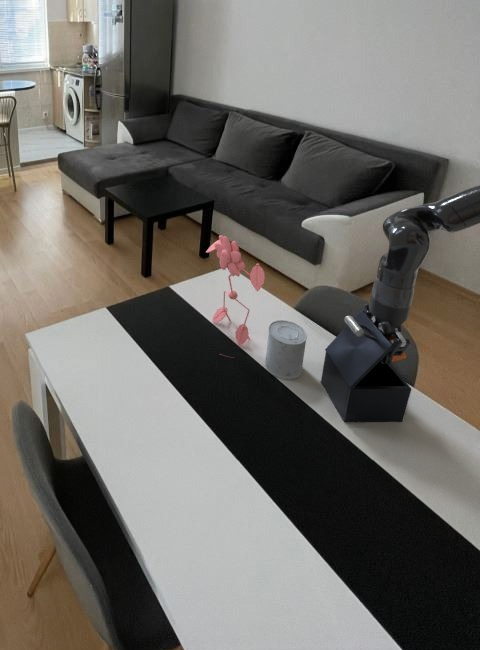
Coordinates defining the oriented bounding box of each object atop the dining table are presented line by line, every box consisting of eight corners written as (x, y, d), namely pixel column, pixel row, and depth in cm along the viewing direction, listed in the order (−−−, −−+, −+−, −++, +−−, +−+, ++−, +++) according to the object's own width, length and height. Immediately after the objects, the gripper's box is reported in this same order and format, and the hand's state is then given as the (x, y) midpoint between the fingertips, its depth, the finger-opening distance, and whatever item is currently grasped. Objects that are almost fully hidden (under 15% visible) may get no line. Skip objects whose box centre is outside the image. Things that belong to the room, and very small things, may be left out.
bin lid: (363, 311, 106) (343, 301, 106) (394, 346, 95) (372, 336, 94) (327, 350, 112) (307, 341, 111) (352, 388, 100) (330, 379, 99)
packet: (377, 348, 106) (394, 343, 105) (389, 363, 102) (407, 357, 101) (371, 328, 104) (388, 322, 103) (382, 341, 99) (400, 336, 99)
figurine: (217, 305, 148) (221, 215, 136) (270, 356, 125) (282, 253, 113) (178, 317, 144) (179, 225, 131) (227, 372, 121) (233, 267, 108)
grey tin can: (261, 370, 121) (264, 336, 116) (269, 349, 128) (272, 316, 123) (298, 384, 115) (303, 349, 111) (304, 361, 123) (309, 327, 118)
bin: (372, 381, 115) (380, 350, 111) (402, 422, 103) (411, 388, 99) (320, 382, 116) (325, 351, 112) (344, 422, 104) (350, 389, 100)
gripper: (431, 316, 91) (414, 377, 97) (389, 278, 104) (376, 333, 110) (393, 317, 91) (379, 378, 97) (357, 279, 104) (346, 334, 111)
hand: (378, 354), depth 104 cm, fingers closed on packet, 4 cm apart
